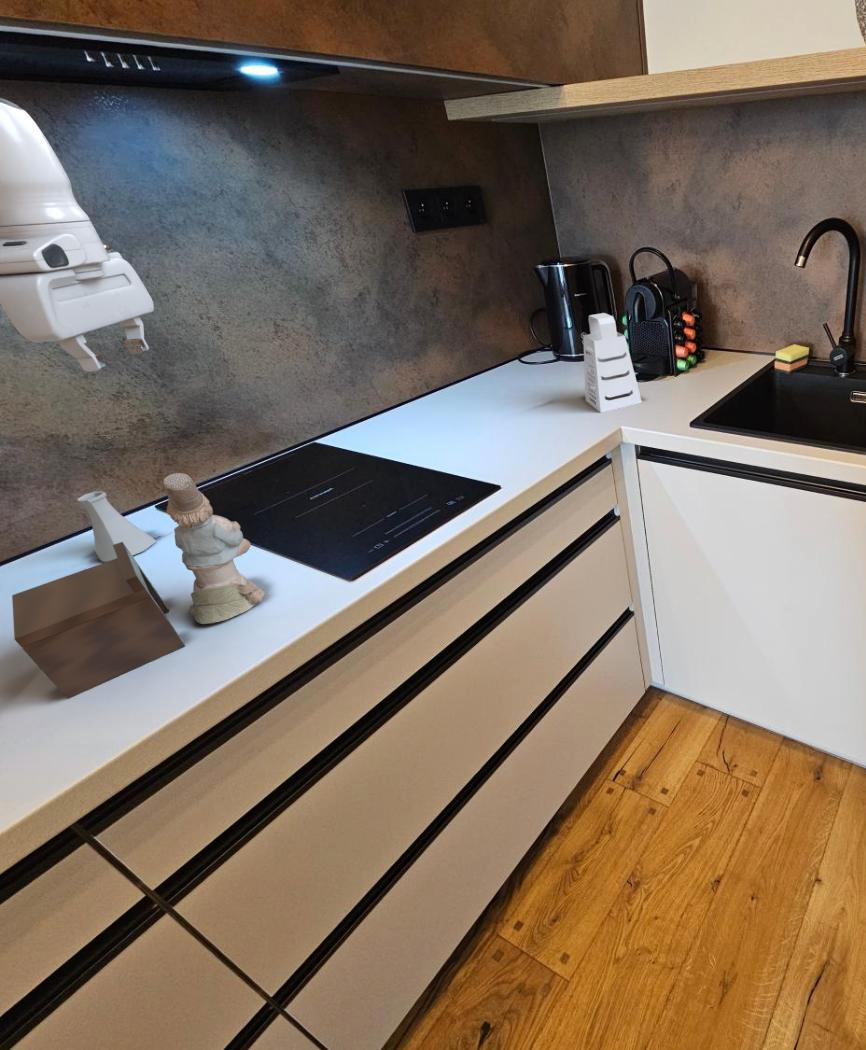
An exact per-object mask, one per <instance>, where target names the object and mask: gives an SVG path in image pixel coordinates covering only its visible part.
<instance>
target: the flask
mask: <svg viewBox="0 0 866 1050" xmlns="http://www.w3.org/2000/svg"><path fill="white" fill-rule="evenodd" d="M107 496H108V495H107V493H106V492H105V491H103V490H99V491H98V490H97V491H92V492H90V493H86V494H83V495H81V496H80V497H78V498H76V501H77V502H78V503H79V504H80V505H81V504H82V505H83V507H84V509H86V511H87V514H88V516H89V519H90V521H91V526H92V532H93V540H94V548H95V555H96V556H97V559H98V560H99V561H101V562H103V563H105V562H108V561H111V560H113V559H116V558H117V555H116V553H115V550H114V547H113V545H114V544H117V543H120V542H123V543H124V544H125V546H126V547H127V549H128V550H129V552H130V553H131V555H132V556H133V557H134V556H135V555H137V554H139V553H142V552H144V551H146V550H147V549H149V548H150V547H151V546H153V545H154V544H155V543H157V540H156V539H154V537H152V536H151V535H149V534H148V533H147V532H145V531H143V529H141V528H139V527H138V526H136V524H134V523H132V522H131V521H130V520H128V519H127V518H126V517H124V516H123V515H122V514H121V513H120V512H118V511H117V509H116V508H114V506H112V504H111V503H110V501H108V499H107Z"/></svg>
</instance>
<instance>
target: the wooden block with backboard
mask: <svg viewBox="0 0 866 1050" xmlns="http://www.w3.org/2000/svg"><path fill="white" fill-rule="evenodd" d="M113 547H114V550H115V553H116V555H117V558H116V559H113V560H111V561H105V562H103V563H99V564H97V565H94V566H91V567H88V568H86V569H82V570H79V571H76V572H75V573H71V574H68V575H65V576H63V577H59V578H56V579H54V580H52V581H48V582H45V583H42V584H39V585H37V586H33V587H32V588H28V589H25V590H23V591H20V592H17V593H15V594H12V595H11V599H12V600H11V601H12V618H13V621H12V622H13V632H14V633H13V637H14V641H15V642H16V643H17V644H18V645H19V646H20V647H21V648H22V650H23V651H24V652H25V653H26V655H28V657H29V658H30V659H31V660H32V661H33V662H34V663H35V664H36V666H37V667H38V668H39V669H40V670H41V671H42V673H44V674H45V676H46V677H47V678H48V679H49V680H50V681H51V682H52V683H53V684H54V685H55V687H56V688H57V689H58V690H59V691H60V693H62V694H63V696H64V697H65V698H66V699H68V700H69V699H71V698H73V697H75V696H77V695H80V694H82V693H84V692H86V691H89V690H90V689H93V688H95V687H98V686H100V685H102V684H105V683H106V682H108V681H111V680H113V679H116V678H118V677H120V676H122V675H124V674H127V673H129V672H131V671H134V670H135V669H139V668H140V667H142V666H145V665H147V664H149V663H151V662H153V661H155V660H157V659H158V660H159V659H160V658H162V657H164V656H167V655H169V654H171V653H173V652H176V651H178V650H180V649H183V648H185V647H186V644H185V641H183V639H182V637H181V636H180V635H179V633H178V632H177V630H176V628H175V627H174V626H173V624H172V623H171V621H170V620H169V619H168V617H167V615H165V614H166V613H168V612H170V608H169V607H168V606H167V604H166V602H165V600H163V598H162V596H161V595H160V594H159V593H158V591H157V589H156V588H155V586H154V585H153V583H152V582H151V581H150V580H149V578H148V576H147V575H146V573H145V572H144V571H143V569H142V567H141V566H140V564H139V563H138V561H136V559H135V557H134V555H133V556H132V555H131V553H130V552H129V550H128V549H127V547H126V546H125V544H124V543H123V542H120V543H117V544H114V545H113Z"/></svg>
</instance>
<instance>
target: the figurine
mask: <svg viewBox="0 0 866 1050" xmlns="http://www.w3.org/2000/svg"><path fill="white" fill-rule="evenodd" d="M162 483H163V488H164V491H165V494H166V495H167V499H168V500H167V506H166V514H167V515H169V517H170V518H171V520H172V521H174V523H176V524H177V526H176V527H174V528H173V531H174V543H175V546H176V547H177V548H178V549H180V550H181V551H182V553H181V563H183V564H184V566H185V568H186V569H187V570H188V571H192V574H193V575H194V577H195V579H194V581H193V587H192V588H193V590H192V592H191V593H190V596H191V599H192V603H193V604H191V605H189V606H188V609H189V612H190V613H191V614H193V618H194V620H195V621H196V622H197V623H199V624H201V625H207V624H215V623H220V622H222V621H227V620H229V619H231V618H232V619H233V618H234V617H236V616H238V615H241V614H243V613H245V612H247V611H249V610H251V609H252V608H253V607H254V606H256V605H258V603H260V602H262V601H263V598H264V596H265V594H266V592H265V590H263V589H262V588H259V586H258V585H257V584H255V583H254V582H252V581H251V580H249V579H247V578H246V576H245V575H244V574H242V573H240V571H239V569H237V566H236V564H235V561H234V559H235V558H238V557H240V556H242V555H244V554H246V553H247V552H248V551H249V550H250V548H251V546H252V545H251V542H250V541H249V540H248V539H246V538H244V535H243V531H241V525H240V524H239V523H238V522H237V521H235V520H234V521H231V520H229V519H228V518H226V517H224V516H221V515H217V514H213V513H214V511H213V507H212V506H211V504H210V500H209V499H208V498H207V497H206V496H205V495H204V493H202V492H201V491H200V490H199V489H198V487H197V486H196V484H195V482H194V480H193V479H192V478H191V477H190V476H189V475H188V474H186V473H182V472H175V473H171V474H169V475H166V476H165V478H164V479H163V482H162Z"/></svg>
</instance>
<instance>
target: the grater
mask: <svg viewBox="0 0 866 1050" xmlns="http://www.w3.org/2000/svg"><path fill="white" fill-rule="evenodd" d="M616 324H617V323H616V320H615V317H614V316H612V315H610V314H608V313H606V312H601V313H596V314H590V315H588V325H589V332H590V333H589V334H583V336H582V338H583V342H582V343H583V365H584V366H583V367H584V390H585V391H584V392H585V393H584V394H585V401H586V403H588V404H589V405H590V406H591V407H593V408H594V409H595V410H596V411H598V412H599V413H600V414H601V413H602V414H603V413H605V412H610V411H615V410H618V409H623V408H626V407H627V408H628V407H630V406H635V405H639V404H643V401H642V397H641V393H640V389H639V385H638V381H637V378H636V374H635V370H634V367H633V362H632V358H631V354H630V351H629V347H628V343H627V339H626V335H625V334H623V333H620V332H618V331H617V325H616ZM625 394H628V396H624V397H619V398H614V399H611V400H610V398H613V397H618V396H623V395H625ZM606 398H609V399H606Z"/></svg>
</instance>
